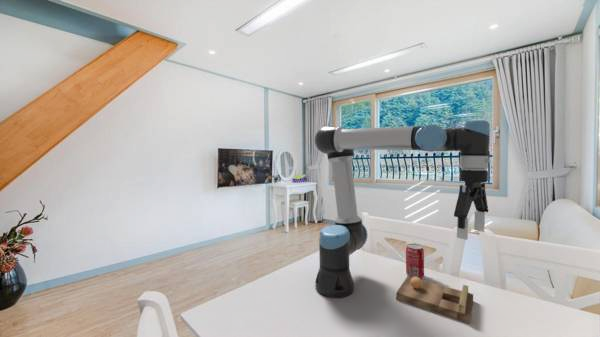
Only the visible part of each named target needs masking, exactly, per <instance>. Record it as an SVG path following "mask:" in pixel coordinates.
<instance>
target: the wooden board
mask: <svg viewBox="0 0 600 337" xmlns="http://www.w3.org/2000/svg"><path fill="white" fill-rule="evenodd" d="M411 279H412V278H411V277H409V276H408V275H407V277H406V278H405V279H404V281H403V282H402V283H401V285H400V286H399V288H398V289H397V291H396V295H395V296H396V299H395V300H398V301H401V302H403V303H406V304H408V305H411V306H415V307H417V308H421V309H424V310H427V311H431V312H434V313H437V314H439V315H442V316H445V317H449V318H451V319H455V320H457V321H460V322H463V323H467V324H471V322H472V321H471V320H472V313H473V306H474V294H473V293H471V292H469V285H466V284H463V285H462V288H461V290H459V289H455V288H451V287H448V286H443V285H441V284H437V283H434V282H433V283H432V282H430V281H425V280H422V279H421V281H422V287H421V288H419V289H416V288H414V287H412V285H411V283H410V281H411Z"/></svg>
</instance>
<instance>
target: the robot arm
mask: <svg viewBox="0 0 600 337" xmlns="http://www.w3.org/2000/svg"><path fill="white" fill-rule="evenodd" d="M490 131H491V129H490V122H489V121H488V120H485V119H482V120H481V119H477V120H475V119H474V120H466V121H463V122H461V124H460V127H457V128H443V127H441V126H440V125H437V124H426V125H419V126H418V125H417V126H393V127H392V126H391V127H390V126H389V127H371V128H370V127H367V128H345V127H343V126H333V125H327V126H322V127H320V129H318V130H317V132H316V134H315V136H314V144H315V147H316V148H317V150H318V151H319V152H321V153H323V154H325V155H326V156H327V160H328V161H329V162H330V163H331V169H332V176H333V177H332V178H333V186H334V195H335V196H334V197H335V204H336V205H335V206H336V212H337V218H336V219H335V220H334V224H331V225H327V226H325V227H323V228H322V229H321V230H320V231H319V238H318V242H319V244H318V245H319V246H318V248H319V250H318V251H319V268H318V272H317V274H316V276H315V280H314V281H315V283H314V284H315V286H314V287H315V289H316V291H317V293H319V294H321V295H323V296H326V297H328V298H338V299H339V298H345V297H348V296H351V295H352V294H353V293H354V291H355V282H354V279H353V276H352V273H351V270H350V255H351V256H352V255H353V253H355V252H356V251H357V250H360V249H361V248H363V247H364V245H365V244H366V243H367V241H368V240H367V239H368V230H367V228H366V226H365V225H364V224H363V220H362V217H360V216H359V215H358V209H357V199H356V189H355V182H354V173H353V164H352V160H353V159H354V158H355V150H359V151H360V150H362V151H363V150H364V151H365V150H367V151H368V150H374V151H375V150H376V151H379V150H380V151H422V152H459V155H460V156H459V168H460V170H459V178H458V180H459V181H461V182H464V185H463V184H461V185H459V191H458V195H457V196H458V197H457V199H456V200H457V201H456V204H455V209H454V212H453V217H455V218H457V221H456V222H457V224H456V238H458V239H461V240H466V241H467V240H468V237H469V232H468V231H469V218H468V215H469V212H470V210H471V207H472V204H473V205H474V207H475V211H474V222H473V223H474V224H473V226H474V227H473V230H474V231H476V232H477V231H478V232H485V224H486V223H485V222H486V221H485V220H486V213H488V212H489V207H488V199H487V193H486V183H487V182H488V181H489V180H488V179H489V171H488V170H487V169H489V163H490V162H491V159H489V158H490V157H489V156H490V155H489V153H490V152H489V151H490V140H491V139H490V138H491V135H490V133H491V132H490Z"/></svg>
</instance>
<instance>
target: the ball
mask: <svg viewBox="0 0 600 337" xmlns="http://www.w3.org/2000/svg"><path fill="white" fill-rule="evenodd" d="M421 280H422V278H421V279H420V278H418V277H413V278H412V279H411V281H410V283H411V285H412V287H414V288H416V289H419V288H421V287H422V281H423V280H422V281H421Z"/></svg>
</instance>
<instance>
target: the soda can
mask: <svg viewBox="0 0 600 337" xmlns="http://www.w3.org/2000/svg"><path fill="white" fill-rule="evenodd" d="M423 247H424V246H423V245H421V244H418V243H408V244H406V247H405V273H406V275H407V276H408V277H411V278H413V277H418V278H420V279H421V280H422V278H424V276H425V250H424V248H423Z"/></svg>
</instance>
